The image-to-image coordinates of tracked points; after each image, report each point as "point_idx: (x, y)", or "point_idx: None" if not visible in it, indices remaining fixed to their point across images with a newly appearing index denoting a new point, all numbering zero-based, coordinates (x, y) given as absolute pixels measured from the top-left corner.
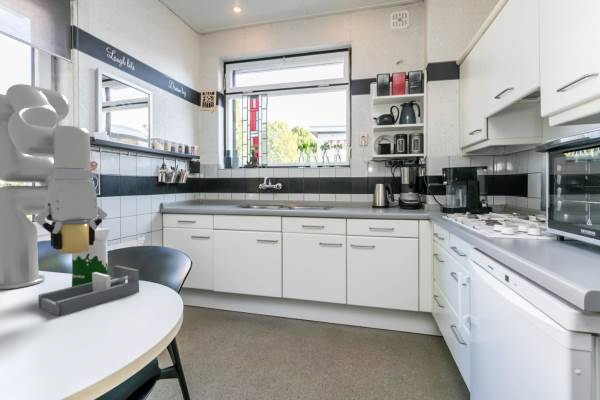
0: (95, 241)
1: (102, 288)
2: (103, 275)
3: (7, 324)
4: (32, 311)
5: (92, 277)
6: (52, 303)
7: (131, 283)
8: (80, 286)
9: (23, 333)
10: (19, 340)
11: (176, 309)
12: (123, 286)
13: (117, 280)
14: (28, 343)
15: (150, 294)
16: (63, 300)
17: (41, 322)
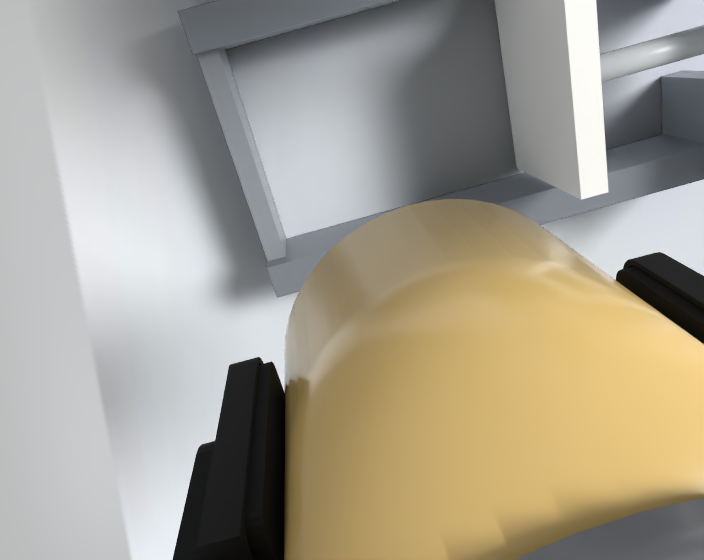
0: None
1: (531, 125)
2: (581, 148)
3: (76, 225)
4: (166, 86)
5: None
6: (254, 220)
7: (681, 183)
8: None
9: (154, 384)
10: (149, 441)
11: None
12: (625, 197)
13: (657, 65)
14: (178, 482)
15: (689, 250)
16: (302, 277)
17: (211, 305)
